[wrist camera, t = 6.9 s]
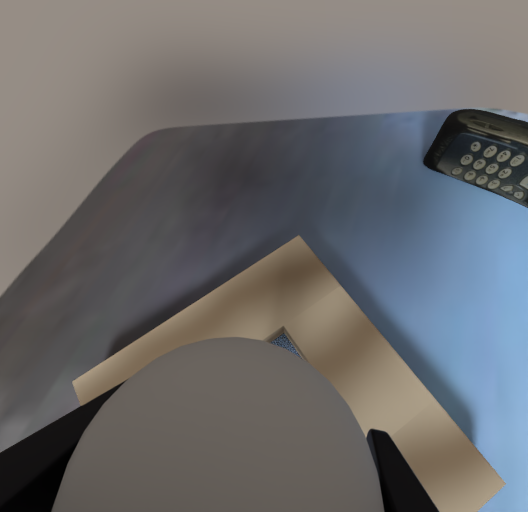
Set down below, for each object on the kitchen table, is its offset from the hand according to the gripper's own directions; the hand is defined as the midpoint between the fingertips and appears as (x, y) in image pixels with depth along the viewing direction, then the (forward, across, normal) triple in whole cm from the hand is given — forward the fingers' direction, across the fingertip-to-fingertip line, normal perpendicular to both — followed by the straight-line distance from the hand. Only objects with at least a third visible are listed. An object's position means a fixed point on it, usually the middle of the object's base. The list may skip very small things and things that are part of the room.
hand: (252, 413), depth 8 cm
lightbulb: (+4, 0, +6) cm, 7 cm away
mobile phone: (+21, -16, -4) cm, 26 cm away
